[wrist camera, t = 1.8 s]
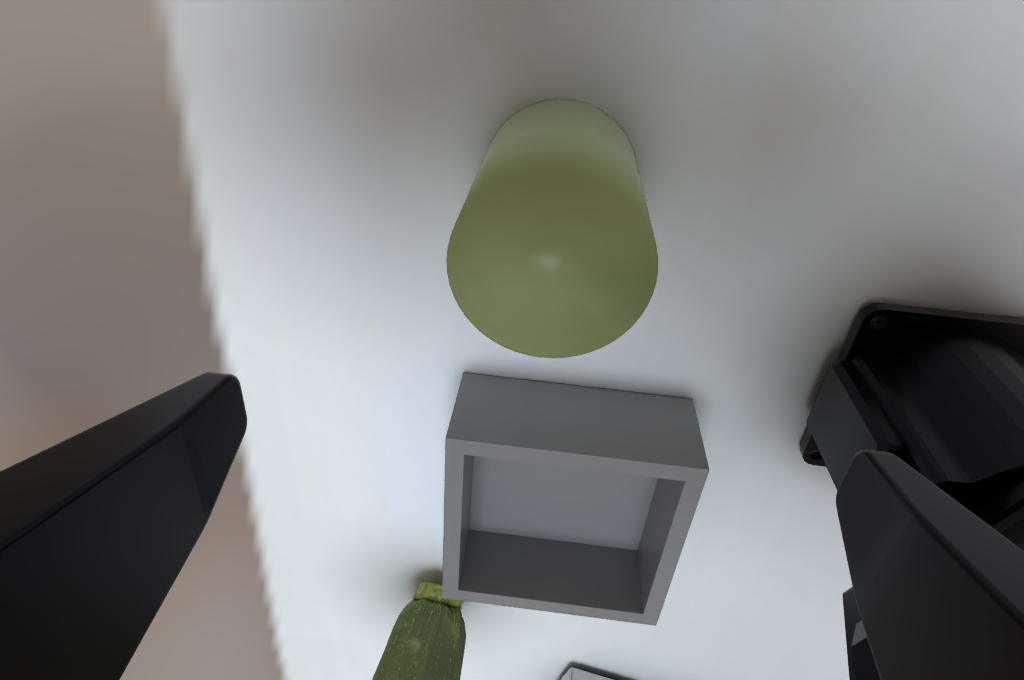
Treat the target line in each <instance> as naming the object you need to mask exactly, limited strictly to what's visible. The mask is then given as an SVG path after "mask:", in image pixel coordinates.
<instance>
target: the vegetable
mask: <svg viewBox="0 0 1024 680" xmlns="http://www.w3.org/2000/svg"><path fill="white" fill-rule="evenodd" d="M461 605H462V600H456V599H448V598H442V584H438V583H429V582H424V581H423V582H421V583H420V585H419V587H418V589H417V591H416V593H415V595H414V599H413V601H411V602H410V603H409V604H408V605H407V606H406V607H405V608H404V609H403V611H402V612H401V613H400V615H399V616H398V618H397V621H396V623H395V625H394V627H393V630H392V632H391V635H390V637H389V640H388V643H387V646H386V648H385V650H384V653H383V655H382V658H381V660H380V662H379V665H378V667H377V669H376V672H375V674H374V676H373V679H372V680H460V675H461V668H462V662H463V655H464V649H465V640H466V632H465V623H464V620H463V618H462V614H461Z"/></svg>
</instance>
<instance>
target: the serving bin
mask: <svg viewBox="0 0 1024 680" xmlns="http://www.w3.org/2000/svg"><path fill="white" fill-rule="evenodd" d="M708 472H709V467H708V462H707V458H706V454H705V450H704V445H703V441H702V437H701V433H700V428H699V424H698V420H697V416H696V412H695V407H694V403H693V399H686V398H677V397H669V396H660V395H651V394H643V393H634V392H626V391H617V390H608V389H600V388H591V387H583V386H574V385H565V384H557V383H548V382H540V381H531V380H522V379H514V378H505V377H497V376H488V375H479V374H471V373H463V376H462V380H461V383H460V387H459V391H458V394H457V398H456V402H455V405H454V409H453V413H452V417H451V420H450V424H449V428H448V431H447V435H446V446H445V492H444V538H443V583H442V598H448V599H456V600H463V601H471V602H479V603H486V604H494V605H502V606H509V607H517V608H525V609H533V610H540V611H548V612H556V613H563V614H571V615H579V616H586V617H594V618H602V619H609V620H617V621H625V622H632V623H640V624H648V625H656V624H657V621H658V618H659V615H660V613H661V610H662V607H663V604H664V601H665V598H666V595H667V592H668V589H669V586H670V583H671V580H672V577H673V575H674V572H675V569H676V566H677V563H678V560H679V557H680V554H681V551H682V548H683V545H684V542H685V539H686V536H687V534H688V531H689V528H690V525H691V522H692V519H693V516H694V513H695V510H696V507H697V504H698V501H699V498H700V496H701V493H702V490H703V487H704V484H705V481H706V478H707V475H708Z"/></svg>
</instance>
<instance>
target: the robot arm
mask: <svg viewBox="0 0 1024 680" xmlns="http://www.w3.org/2000/svg"><path fill="white" fill-rule="evenodd" d="M880 316H882V319H881V320H880V321H879V322H877V323H874V324H870V322H871V321H872V320H873V319H874V318H876V317H880ZM807 425H808V429H807V431H806V433H805V436H804V438H803V440H802V443H801V445H800V452H801V454H802V456H803V459H804V461H805V462H807V463H808V464H811V465H818V466H826V467H827V469H828V471H829V473H830V475H831V477H832V480H833V482H834V484H835V486H836V488H837V495H836V506H837V512H838V517H839V521H840V526H841V531H842V536H843V541H844V546H845V551H846V556H847V561H848V566H849V571H850V575H851V580H852V585H853V587H852V588H850V589H849V590H847V591H846V592H844V593H843V605H844V617H845V629H846V641H847V654H848V666H849V678H850V680H1024V319H1022V318H1012V317H1003V316H994V315H985V314H976V313H967V312H958V311H948V310H939V309H930V308H921V307H912V306H903V305H894V304H884V303H873V304H870V305H867V306H866V307H864V308H863V309H862V310H861V311H860V312H859V314H858V315H857V317H856V319H855V322H854V324H853V326H852V329H851V331H850V333H849V335H848V338H847V340H846V342H845V345H844V347H843V349H842V351H841V354H840V356H839V358H838V361H836V362H835V363H834V364H832V365H831V366H830V368H829V370H828V373H827V375H826V377H825V380H824V382H823V384H822V387H821V389H820V391H819V394H818V396H817V398H816V400H815V403H814V405H813V407H812V410H811V412H810V414H809V417H808V419H807ZM246 427H247V415H246V410H245V405H244V401H243V396H242V391H241V386H240V382H239V380H238V378H237V377H236V376H234V375H232V374H224V373H215V372H207V373H204V374H202V375H200V376H198V377H196V378H194V379H191V380H189V381H187V382H185V383H183V384H181V385H179V386H177V387H175V388H173V389H171V390H169V391H167V392H164V393H162V394H160V395H158V396H156V397H154V398H152V399H150V400H148V401H146V402H144V403H142V404H140V405H137V406H135V407H133V408H131V409H129V410H127V411H125V412H123V413H121V414H119V415H117V416H115V417H113V418H110V419H108V420H107V421H104V422H102V423H100V424H98V425H96V426H94V427H92V428H90V429H88V430H86V431H83V432H81V433H79V434H77V435H75V436H73V437H71V438H69V439H67V440H65V441H63V442H61V443H59V444H56V445H54V446H52V447H50V448H48V449H46V450H44V451H42V452H40V453H38V454H36V455H34V456H32V457H29V458H27V459H25V460H23V461H21V462H19V463H17V464H15V465H13V466H11V467H9V468H7V469H5V470H2V471H0V680H119V679H120V678H121V676H122V674H123V672H124V671H125V669H126V667H127V665H128V663H129V662H130V660H131V658H132V656H133V655H134V653H135V651H136V649H137V647H138V645H139V644H140V642H141V640H142V638H143V636H144V635H145V633H146V631H147V630H148V628H149V626H150V624H151V622H152V621H153V619H154V617H155V615H156V613H157V612H158V610H159V608H160V606H161V605H162V603H163V601H164V599H165V597H166V596H167V594H168V592H169V590H170V588H171V587H172V585H173V583H174V581H175V579H176V578H177V576H178V574H179V572H180V571H181V569H182V567H183V565H184V563H185V562H186V560H187V558H188V556H189V554H190V553H191V551H192V549H193V547H194V545H195V544H196V542H197V540H198V538H199V537H200V535H201V533H202V531H203V529H204V527H205V525H206V523H207V521H208V519H209V517H210V515H211V513H212V510H213V508H214V506H215V504H216V501H217V498H218V496H219V494H220V492H221V489H222V487H223V485H224V482H225V480H226V477H227V475H228V472H229V470H230V468H231V465H232V463H233V461H234V458H235V456H236V454H237V451H238V449H239V446H240V444H241V442H242V439H243V437H244V434H245V431H246ZM818 449H819V451H817V452H812V451H814V450H818Z"/></svg>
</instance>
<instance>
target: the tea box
mask: <svg viewBox="0 0 1024 680" xmlns="http://www.w3.org/2000/svg"><path fill="white" fill-rule="evenodd" d="M561 680H613V679H610V678H606V677H603V676H600V675H596V674H593V673H589V672H586V671H583V670H579V669H576V668H573V667H572V668H570V669H569V670H568V671H567V673H566V674H565V675H564V676H563V677H562V678H561Z"/></svg>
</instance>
